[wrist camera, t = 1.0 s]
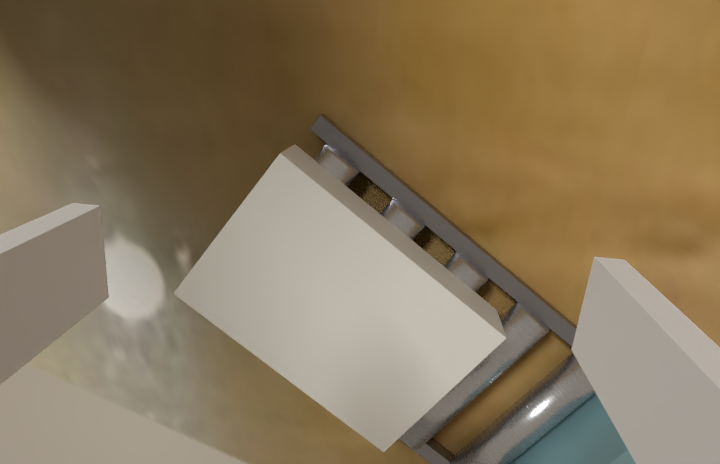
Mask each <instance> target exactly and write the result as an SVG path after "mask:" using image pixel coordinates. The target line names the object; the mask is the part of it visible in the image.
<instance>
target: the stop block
mask: <svg viewBox="0 0 720 464" xmlns="http://www.w3.org/2000/svg"><path fill="white" fill-rule="evenodd" d="M509 464H636V463H635V461H634V459H633V458H632V456H631V454H630V452H629V451H628V449H627V447H626V445H625V444H624V442H623V440H622V438H621V437H620V435H619V433H618V431H617V429H616V428H615V426H614V424H613V422H612V421H611V419H610V417H609V415H608V414H607V412H606V410H605V408H604V407H603V405H602V403H601V401H600V399H599V398H598V396H597V394H596V392H595V393H594V394H593V395H592V396H590V397H589V398H588V399H587V400H586V401H584V402H583V403H582V404H581V405H580V406H578V407H577V408H576V409H575V410H573V411H572V412H571V413H570V414H569V415H567V416H566V417H565V418H564V419H563V420H561V421H560V422H559V423H558V424H557V425H555V426H554V427H553V428H552V429H551V430H549V431H548V432H547V433H546V434H544V435H543V436H542V437H541V438H540V439H538V440H537V441H536V442H535V443H534V444H532V445H531V446H530V447H529V448H528V449H526V450H525V451H524V452H523V453H522V454H520V455H519V456H518V457H517V458H515V459H514V460H513V461H512V462H511V463H509Z"/></svg>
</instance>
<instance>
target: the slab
mask: <svg viewBox="0 0 720 464" xmlns="http://www.w3.org/2000/svg"><path fill="white" fill-rule="evenodd" d="M173 294H174V295H176V296H177V297H178V298H180V299H181V300H182V301H184V302H185V303H186V304H188V305H189V306H190V307H192V308H193V309H194V310H196V311H197V312H198V313H199V314H201V315H202V316H203V317H205V318H206V319H207V320H209V321H210V322H211V323H213V324H214V325H215V326H217V327H218V328H219V329H221V330H222V331H223V332H225V333H226V334H227V335H229V336H230V337H231V338H233V339H234V340H235V341H237V342H238V343H239V344H241V345H242V346H243V347H245V348H246V349H247V350H249V351H250V352H251V353H253V354H254V355H255V356H257V357H258V358H259V359H261V360H262V361H263V362H264V363H266V364H267V365H268V366H270V367H271V368H272V369H274V370H275V371H276V372H278V373H279V374H280V375H282V376H283V377H284V378H286V379H287V380H288V381H290V382H291V383H292V384H294V385H295V386H296V387H298V388H299V389H300V390H302V391H303V392H304V393H306V394H307V395H308V396H310V397H311V398H312V399H314V400H315V401H316V402H318V403H319V404H320V405H322V406H323V407H324V408H325V409H327V410H328V411H329V412H331V413H332V414H333V415H335V416H336V417H337V418H339V419H340V420H341V421H343V422H344V423H345V424H347V425H348V426H349V427H351V428H352V429H353V430H355V431H356V432H357V433H359V434H360V435H361V436H363V437H364V438H365V439H367V440H368V441H369V442H371V443H372V444H373V445H375V446H376V447H377V448H379V449H380V450H381V451H383V452H385V451H386V450H387V449H388V448H389V447H390V446H391V445H392V444H393V443H394V442H395V441H396V440H397V439H399V438H400V437H401V436H402V435H403V434H404V433H405V432H406V431H407V430H408V429H409V428H410V427H411V426H413V425H414V424H415V423H416V422H417V421H418V420H419V419H420V418H421V417H422V416H423V415H424V414H425V413H427V412H428V411H429V410H430V409H431V408H432V407H433V406H434V405H435V404H436V403H437V402H438V401H439V400H441V399H442V398H443V397H444V396H445V395H446V394H447V393H448V392H449V391H450V390H451V389H452V388H453V387H455V386H456V385H457V384H458V383H459V382H460V381H461V380H462V379H463V378H464V377H465V376H466V375H467V374H469V373H470V372H471V371H472V370H473V369H474V368H475V367H476V366H477V365H478V364H479V363H480V362H481V361H483V360H484V359H485V358H486V357H487V356H488V355H489V354H490V353H491V352H492V351H493V350H494V349H495V348H497V347H498V346H499V345H500V344H501V343H502V342H503V341H504V340H505V339H506V335H505V332H504V329H503V326H502V323H501V320H500V318H499V315H498V312H497V310H496V309H495V308H494V307H493V306H491V305H490V304H489V303H488V302H487V301H485V300H484V299H483V298H482V297H480V296H479V295H478V294H477V293H476V292H474V291H473V290H472V289H471V288H469V287H468V286H467V285H466V284H465V283H463V282H462V281H461V280H460V279H459V278H457V277H456V276H455V275H454V274H452V273H451V272H450V271H449V270H448V269H446V268H445V267H444V266H443V265H442V264H440V263H439V262H438V261H437V260H435V259H434V258H433V257H432V256H431V255H429V254H428V253H427V252H426V251H424V250H423V249H422V248H421V247H420V246H418V245H417V244H416V243H415V242H414V241H412V240H411V239H410V238H409V237H407V236H406V235H405V234H404V233H403V232H401V231H400V230H399V229H398V228H397V227H395V226H394V225H393V224H392V223H390V222H389V221H388V220H387V219H386V218H384V217H383V216H382V215H381V214H379V213H378V212H377V211H376V210H375V209H373V208H372V207H371V206H370V205H369V204H367V203H366V202H365V201H364V200H362V199H361V198H360V197H359V196H358V195H356V194H355V193H354V192H353V191H352V190H350V189H349V188H348V187H347V186H345V185H344V184H343V183H342V182H341V181H339V180H338V179H337V178H336V177H334V176H333V175H332V174H331V173H330V172H328V171H327V170H326V169H325V168H324V167H322V166H321V165H320V164H319V163H317V162H316V161H315V160H314V159H313V158H311V157H310V156H309V155H308V154H307V153H305V152H304V151H303V150H302V149H300V148H299V147H298V146H297V145H296V144H294V145H293V146H291V147H289V148H288V149H286V150H284V151H283V152H281V153H280V154H279V155H278V156H277V158H276V159H275V160H274V162H273V163H272V164H271V166H270V167H269V168H268V170H267V171H266V172H265V173H264V175H263V176H262V177H261V179H260V180H259V181H258V183H257V184H256V185H255V187H254V188H253V189H252V191H251V192H250V193H249V194H248V196H247V197H246V198H245V200H244V201H243V202H242V204H241V205H240V206H239V208H238V209H237V210H236V212H235V213H234V214H233V215H232V217H231V218H230V219H229V221H228V222H227V223H226V225H225V226H224V227H223V229H222V230H221V231H220V233H219V234H218V235H217V236H216V238H215V239H214V240H213V242H212V243H211V244H210V246H209V247H208V248H207V250H206V251H205V252H204V254H203V255H202V256H201V257H200V259H199V260H198V261H197V263H196V264H195V265H194V267H193V268H192V269H191V271H190V272H189V273H188V275H187V276H186V277H185V278H184V280H183V281H182V282H181V284H180V285H179V286H178V288H177V289H176V290H175V292H174V293H173Z"/></svg>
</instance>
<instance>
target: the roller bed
mask: <svg viewBox="0 0 720 464" xmlns="http://www.w3.org/2000/svg"><path fill="white" fill-rule="evenodd" d="M310 130H311V131H312V132H314V133H315V134H316V135H317V136H318V137H320V138H321V139H322V140H323V141H324V142H326V143H327V144H325V146H324V147H323V148H322V149H321V151H320V152H319V153H318V154H317V156H316V157H315V158H314V160H315V161H316V162H317V163H319V164H320V165H321V166H322V167H324V168H325V169H326V170H327V171H328V172H330V173H331V174H332V175H333V176H334V177H336V178H337V179H338V180H339V181H341V182H342V183H343V184H344V185H345V186H348V185H349V184H350V183H351V181H352V180H353V179H354V178H355V177H356V175H357V174H358V173H359V172H360V171H361V172H362V173H363V174H364V175H365V176H367V177H368V178H369V179H370V180H371V181H373V182H374V183H375V184H376V185H377V186H379V187H380V188H381V189H382V190H384V191H385V192H386V193H387V194H388V195H390V196H391V197H392V198H393V199H392V200H391V201H390V202H389V203H388V205H387V206H386V207H385V208H384V209H383V210H382V211H381V213H380V214H381V215H382V216H383V217H384V218H386V219H387V220H388V221H389V222H390V223H392V224H393V225H394V226H395V227H397V228H398V229H399V230H400V231H401V232H403V233H404V234H405V235H406V236H407V237H409V238H410V239H411V240H413V239H414V238H415V237H416V236H417V235H418V234H419V232H420V231H421V230H422V229H423V228H424V227H425V225H426V226H427V227H428V228H429V229H431V230H432V231H433V232H434V233H435V234H437V235H438V236H439V237H440V238H441V239H443V240H444V241H445V242H446V243H447V244H449V245H450V246H451V247H452V248H453V249H455V250H456V252H455V253H454V254H453V255H452V256H451V257H450V258H449V260H448V261H447V262H446V263H445V264H444V265H443V266H444V267H445V268H446V269H448V270H449V271H450V272H451V273H452V274H454V275H455V276H456V277H457V278H459V279H460V280H461V281H462V282H463V283H465V284H466V285H467V286H468V287H469V288H471V289H472V290H473V291H474V292H476V291H477V290H478V289H479V288H480V287H481V286H482V285H483V284H484V283H485V282H486V281H488V278H490V279H491V280H492V281H493V282H494V283H496V284H497V285H498V286H499V287H500V288H502V289H503V290H504V291H505V292H506V293H508V294H509V295H510V296H511V297H512V298H514V299H515V300H516V301H517V303H516V304H515V305H514V306H512V307H511V308H510V309H509V310H508V311H507V312H506V313H505V314H504V315H503V316H502V317H501V318H500V320H501V323H502V326H503V329H504V332H505V335H506V339H505V340H504V341H503V342H502V343H501V344H500V345H499V346H498V347H497V348H495V349H494V350H493V351H492V352H491V353H490V354H489V355H488V356H487V357H486V358H485V359H484V360H483V361H481V362H480V363H479V364H478V365H477V366H476V367H475V368H474V369H473V370H472V371H471V372H470V373H469V374H467V375H466V376H465V377H464V378H463V379H462V380H461V381H460V382H459V383H458V384H457V385H456V386H455V387H453V388H452V389H451V390H450V391H449V392H448V393H447V394H446V395H445V396H444V397H443V398H442V399H441V400H439V401H438V402H437V403H436V404H435V405H434V406H433V407H432V408H431V409H430V410H429V411H428V412H427V413H425V414H424V415H423V416H422V417H421V418H420V419H419V420H418V421H417V422H416V423H415V424H414V425H413V426H411V427H410V428H409V429H408V430H407V431H406V432H405V433H404V434H403V435H402V436H401V437H400V438H399V440H401V441H402V442H403V443H404V444H406V445H407V446H408V447H410V448H411V449H412V450H414V451H415V452H416V453H418V454H419V455H420V456H422V457H423V458H424V459H425V460H427V461H428V462H429V463H431V464H509V463H511V462H512V461H513V460H514V459H515V458H517V457H518V456H519V455H520V454H522V453H523V452H524V451H525V450H526V449H528V448H529V447H530V446H531V445H532V444H534V443H535V442H536V441H537V440H538V439H540V438H541V437H542V436H543V435H544V434H546V433H547V432H548V431H549V430H551V429H552V428H553V427H554V426H555V425H557V424H558V423H559V422H560V421H561V420H563V419H564V418H565V417H566V416H567V415H569V414H570V413H571V412H572V411H573V410H575V409H576V408H577V407H578V406H580V405H581V404H582V403H583V402H584V401H586V400H587V399H588V398H589V397H590V396H592V395H593V394H594V393H595V391H594V389H593V387H592V385H591V384H590V382H589V380H588V378H587V377H586V375H585V373H584V371H583V369H582V368H581V366H580V364H579V362H578V361H577V359H576V357H575V355H574V354H573V353H572V354H571V355H570V356H569V357H568V358H567V359H565V360H564V361H563V362H562V363H561V364H560V365H558V366H557V367H556V368H555V369H554V370H553V371H552V372H550V373H549V374H548V375H547V376H546V377H545V378H544V379H542V380H541V381H540V382H539V383H538V384H537V385H536V386H534V387H533V388H532V389H531V390H530V391H529V392H527V393H526V394H525V395H524V396H523V397H522V398H521V399H519V400H518V401H517V402H516V403H515V404H514V405H513V406H511V407H510V408H509V409H508V410H507V411H506V412H505V413H503V414H502V415H501V416H500V417H499V418H498V419H496V420H495V421H494V422H493V423H492V424H491V425H490V426H488V427H487V428H486V429H485V430H484V431H483V432H482V433H480V434H479V435H478V436H477V437H476V438H475V439H474V440H472V441H471V442H470V443H469V444H468V445H467V446H465V447H464V448H463V449H462V450H461V451H460V452H459V453H457V454H456V455H455V456H454V455H452V454H451V453H450V452H448V451H447V450H446V449H445V448H443V447H442V446H441V445H439V444H438V443H437V442H435V441H434V440H433V439H432V437H433V436H434V435H435V434H436V433H438V432H439V431H440V430H441V429H442V428H443V427H444V426H445V425H446V424H448V423H449V422H450V421H451V420H452V419H453V418H454V417H455V416H456V415H457V414H459V413H460V412H461V411H462V410H463V409H464V408H465V407H466V406H467V405H469V404H470V403H471V402H472V401H473V400H474V399H475V398H476V397H477V396H479V395H480V394H481V393H482V392H483V391H484V390H485V389H486V388H487V387H488V386H490V385H491V384H492V383H493V382H494V381H495V380H496V379H497V378H498V377H500V376H501V375H502V374H503V373H504V372H505V371H506V370H507V369H508V368H509V367H511V366H512V365H513V364H514V363H515V362H516V361H517V360H518V359H519V358H521V357H522V356H523V355H524V354H525V353H526V352H527V351H528V350H529V349H531V348H532V347H533V346H534V345H535V344H536V343H537V342H538V341H539V340H540V339H542V338H543V337H544V336H545V335H546V334H547V333H548V332H549V329H548V327H549V328H550V329H551V330H552V331H553V332H555V333H556V334H557V335H558V336H559V337H561V338H562V339H563V340H564V341H565V342H567V343H568V344H569V345H570V346H571V347H572V345H573V341H574V337H575V333H576V329H577V326H576V325H574V324H573V323H572V322H571V321H570V320H568V319H567V318H566V317H565V316H564V315H562V314H561V313H560V312H559V311H558V310H556V309H555V308H554V307H553V306H552V305H550V304H549V303H548V302H547V301H546V300H544V299H543V298H542V297H541V296H540V295H539V294H537V293H536V292H535V291H534V290H533V289H531V288H530V287H529V286H528V285H527V284H525V283H524V282H523V281H522V280H521V279H519V278H518V277H517V276H516V275H515V274H513V273H512V272H511V271H510V270H509V269H507V268H506V267H505V266H504V265H503V264H501V263H500V262H499V261H498V260H497V259H496V258H494V257H493V256H492V255H491V254H490V253H488V252H487V251H486V250H485V249H484V248H482V247H481V246H480V245H479V244H478V243H476V242H475V241H474V240H473V239H472V238H470V237H469V236H468V235H467V234H466V233H464V232H463V231H462V230H461V229H460V228H459V227H457V226H456V225H455V224H454V223H453V222H451V221H450V220H449V219H448V218H447V217H445V216H444V215H443V214H442V213H441V212H439V211H438V210H437V209H436V208H435V207H433V206H432V205H431V204H430V203H429V202H427V201H426V200H425V199H424V198H423V197H421V196H420V195H419V194H418V193H417V192H416V191H414V190H413V189H412V188H411V187H410V186H408V185H407V184H406V183H405V182H404V181H402V180H401V179H400V178H399V177H398V176H396V175H395V174H394V173H393V172H392V171H390V170H389V169H388V168H387V167H386V166H384V165H383V164H382V163H381V162H380V161H378V160H377V159H376V158H375V157H374V156H373V155H371V154H370V153H369V152H368V151H367V150H365V149H364V148H363V147H362V146H361V145H359V144H358V143H357V142H356V141H355V140H353V139H352V138H351V137H350V136H349V135H347V134H346V133H345V132H344V131H343V130H341V129H340V128H339V127H338V126H337V125H336V124H334V123H333V122H332V121H331V120H330V119H328V118H327V117H326V116H325V115H324V114H322V115H320V116H319V118H318V119H317V120H316V122H315V123H314V124H313V125H312V127H311V128H310Z"/></svg>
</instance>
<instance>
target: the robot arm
mask: <svg viewBox="0 0 720 464" xmlns="http://www.w3.org/2000/svg"><path fill="white" fill-rule="evenodd" d="M108 297H109V296H108V285H107V274H106V262H105V251H104V240H103V229H102V218H101V206H100V205H90V204H80V203H71V204H69V205H67V206H65V207H62V208H60V209H58V210H55V211H53V212H51V213H49V214H46V215H44V216H42V217H39V218H37V219H35V220H32V221H30V222H28V223H26V224H23V225H21V226H19V227H16V228H14V229H12V230H9V231H7V232H5V233H3V234H0V384H2V383H3V382H4V381H5V380H7V379H8V378H9V377H10V376H12V375H13V374H14V373H15V372H17V371H18V370H19V369H20V368H21V367H23V366H24V365H25V364H26V363H28V362H29V361H30V360H31V359H33V358H34V357H35V356H36V355H38V354H39V353H40V352H41V351H43V350H44V349H45V348H46V347H48V346H49V345H50V344H51V343H53V342H54V341H55V340H56V339H58V338H59V337H60V336H61V335H62V334H64V333H65V332H66V331H67V330H69V329H70V328H71V327H72V326H74V325H75V324H76V323H77V322H79V321H80V320H81V319H82V318H84V317H85V316H86V315H87V314H89V313H90V312H91V311H92V310H94V309H95V308H96V307H97V306H98V305H100V304H101V303H102V302H103V301H105V300H106V299H107V298H108ZM571 350H572V352H573V354H574V355H575V357H576V359H577V361H578V362H579V364H580V366H581V368H582V369H583V371H584V373H585V375H586V377H587V378H588V380H589V382H590V384H591V385H592V387H593V389H594V391H595V392H596V394H597V396H598V398H599V399H600V401H601V403H602V405H603V407H604V408H605V410H606V412H607V414H608V415H609V417H610V419H611V421H612V422H613V424H614V426H615V428H616V429H617V431H618V433H619V435H620V437H621V438H622V440H623V442H624V444H625V445H626V447H627V449H628V451H629V452H630V454H631V456H632V458H633V459H634V461H635V463H636V464H720V347H719V346H718V345H717V344H715V343H714V342H713V341H712V340H711V339H710V338H709V337H708V336H707V335H706V334H705V333H704V332H702V331H701V330H700V329H699V328H698V327H697V326H696V325H695V324H694V323H693V322H692V321H691V320H689V319H688V318H687V317H686V316H685V315H684V314H683V313H682V312H681V311H680V310H679V309H678V308H676V307H675V306H674V305H673V304H672V303H671V302H670V301H669V300H668V299H667V298H666V297H665V296H663V295H662V294H661V293H660V292H659V291H658V290H657V289H656V288H655V287H654V286H653V285H652V284H650V283H649V282H648V281H647V280H646V279H645V278H644V277H643V276H642V275H641V274H640V273H639V272H637V271H636V270H635V269H634V268H633V267H632V266H631V265H630V264H629V263H628V262H627V261H626V260H622V259H612V258H602V257H594V260H593V264H592V268H591V272H590V276H589V280H588V284H587V288H586V292H585V296H584V300H583V305H582V309H581V313H580V317H579V321H578V325H577V329H576V333H575V337H574V341H573V345H572V349H571Z"/></svg>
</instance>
